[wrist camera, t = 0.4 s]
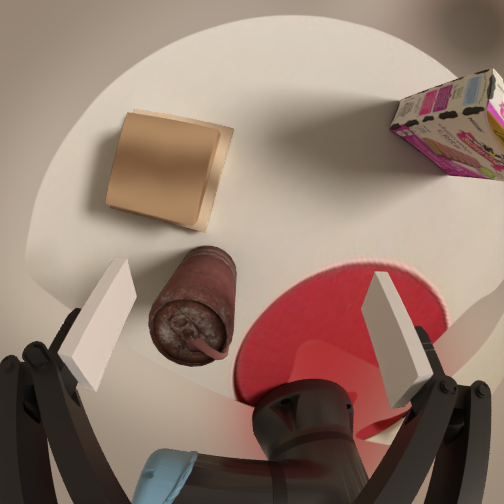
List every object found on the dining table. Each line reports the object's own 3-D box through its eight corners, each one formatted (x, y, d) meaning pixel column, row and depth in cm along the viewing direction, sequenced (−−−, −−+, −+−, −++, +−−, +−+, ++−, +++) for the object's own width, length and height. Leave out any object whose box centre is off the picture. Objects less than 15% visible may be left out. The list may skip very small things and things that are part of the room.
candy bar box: (386, 131, 28) (485, 108, 13) (399, 99, 27) (491, 63, 12) (449, 178, 30) (545, 190, 14) (459, 148, 29) (552, 146, 13)
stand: (206, 229, 31) (200, 239, 26) (115, 206, 30) (95, 211, 25) (233, 130, 28) (232, 121, 23) (138, 111, 27) (121, 101, 22)
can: (222, 306, 33) (212, 384, 19) (173, 280, 32) (133, 346, 18) (248, 262, 32) (253, 323, 18) (197, 234, 31) (164, 277, 17)
